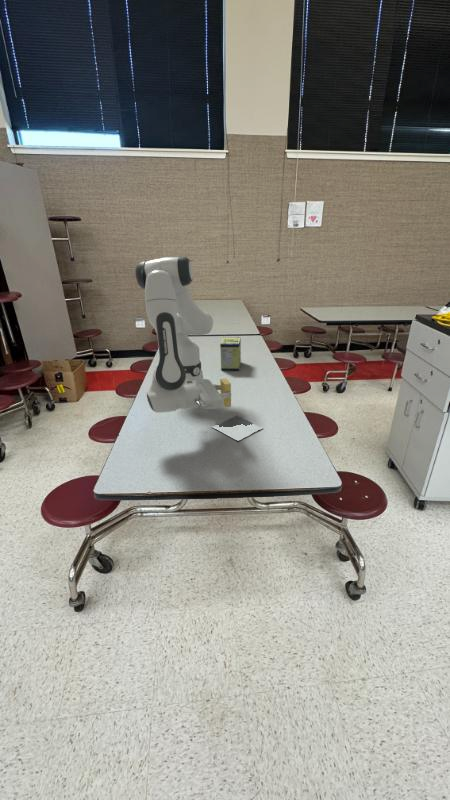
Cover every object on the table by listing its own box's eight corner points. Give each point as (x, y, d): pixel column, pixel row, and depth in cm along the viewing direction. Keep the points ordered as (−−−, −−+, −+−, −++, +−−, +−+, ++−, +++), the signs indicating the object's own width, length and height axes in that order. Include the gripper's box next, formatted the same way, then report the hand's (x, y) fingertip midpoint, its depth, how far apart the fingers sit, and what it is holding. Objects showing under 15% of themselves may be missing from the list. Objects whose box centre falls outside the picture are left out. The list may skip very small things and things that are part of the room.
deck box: (225, 407, 135) (224, 384, 131) (221, 401, 140) (220, 379, 136) (231, 406, 136) (230, 383, 132) (226, 400, 140) (226, 378, 136)
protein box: (240, 362, 214) (240, 336, 208) (239, 371, 200) (239, 344, 194) (223, 361, 215) (222, 336, 209) (220, 371, 201) (220, 344, 195)
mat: (211, 427, 144) (211, 427, 144) (236, 416, 152) (236, 415, 152) (238, 442, 134) (238, 441, 134) (263, 428, 142) (263, 427, 142)
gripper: (198, 399, 122) (237, 393, 125) (185, 378, 139) (219, 373, 143) (199, 415, 124) (237, 409, 128) (187, 393, 142) (220, 388, 146)
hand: (227, 390), depth 136 cm, fingers closed on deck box, 5 cm apart
